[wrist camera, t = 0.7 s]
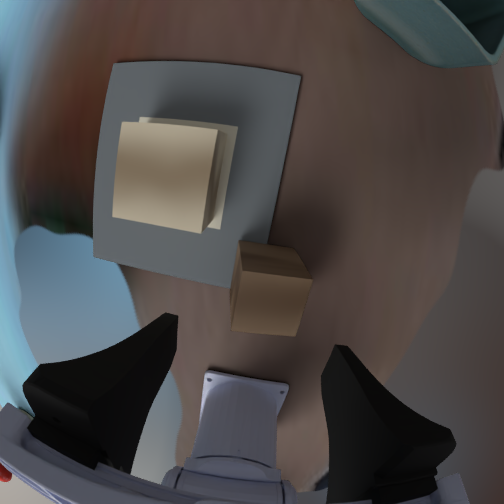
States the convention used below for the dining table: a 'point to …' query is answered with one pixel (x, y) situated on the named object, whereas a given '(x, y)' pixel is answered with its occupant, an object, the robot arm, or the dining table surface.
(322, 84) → the dining table surface
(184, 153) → the base block
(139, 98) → the build mat
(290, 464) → the dining table surface
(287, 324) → the walnut block
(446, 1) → the flower pot
